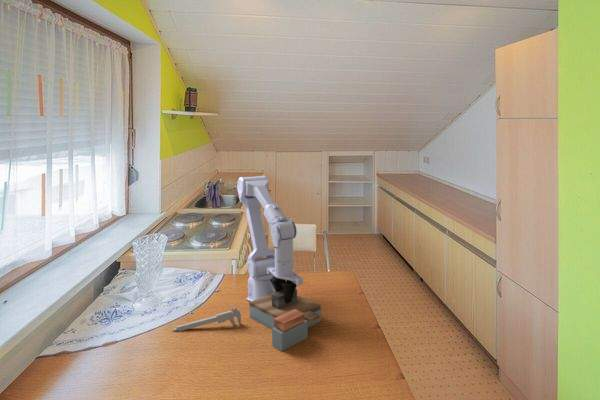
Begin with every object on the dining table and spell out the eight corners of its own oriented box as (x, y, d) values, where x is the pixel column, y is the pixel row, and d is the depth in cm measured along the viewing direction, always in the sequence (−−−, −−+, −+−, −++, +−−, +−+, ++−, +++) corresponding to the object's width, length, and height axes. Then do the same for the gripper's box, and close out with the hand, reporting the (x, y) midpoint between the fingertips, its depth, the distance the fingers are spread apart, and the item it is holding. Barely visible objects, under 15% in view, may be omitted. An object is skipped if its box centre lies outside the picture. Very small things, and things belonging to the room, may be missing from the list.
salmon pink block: (274, 326, 111) (273, 318, 110) (294, 316, 116) (294, 309, 116) (283, 331, 108) (283, 323, 107) (304, 321, 113) (304, 313, 113)
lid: (249, 307, 127) (249, 290, 126) (282, 294, 137) (281, 278, 136) (297, 332, 112) (297, 312, 111) (330, 315, 121) (330, 297, 120)
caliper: (241, 324, 124) (240, 305, 123) (241, 326, 123) (240, 307, 122) (172, 330, 120) (171, 311, 119) (172, 332, 119) (171, 312, 118)
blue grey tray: (234, 323, 124) (233, 308, 123) (282, 303, 137) (282, 289, 136) (281, 351, 108) (281, 333, 107) (330, 325, 122) (330, 309, 121)
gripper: (309, 261, 120) (310, 303, 123) (278, 251, 131) (278, 290, 133) (293, 267, 116) (293, 311, 118) (261, 256, 126) (262, 296, 128)
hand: (284, 300), depth 125 cm, fingers closed on lid, 3 cm apart
